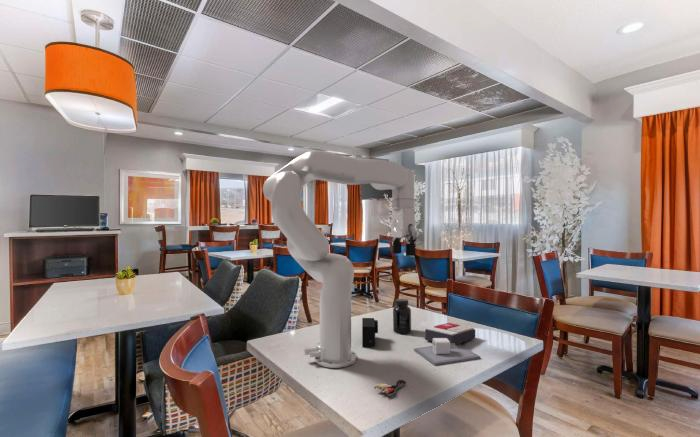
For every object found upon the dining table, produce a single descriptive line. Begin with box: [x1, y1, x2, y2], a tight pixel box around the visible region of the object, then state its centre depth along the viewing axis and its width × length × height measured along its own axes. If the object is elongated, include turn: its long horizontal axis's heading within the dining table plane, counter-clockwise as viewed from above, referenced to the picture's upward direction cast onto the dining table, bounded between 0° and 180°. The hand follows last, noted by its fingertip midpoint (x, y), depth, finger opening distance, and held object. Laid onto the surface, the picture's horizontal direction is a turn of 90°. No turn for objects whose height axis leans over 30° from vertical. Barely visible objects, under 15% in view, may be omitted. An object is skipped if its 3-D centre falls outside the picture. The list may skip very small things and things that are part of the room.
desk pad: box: [413, 344, 481, 366], centre depth 102 cm, size 16×12×1 cm
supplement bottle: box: [392, 298, 412, 335], centre depth 124 cm, size 7×7×12 cm
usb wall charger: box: [432, 338, 457, 354], centre depth 102 cm, size 4×7×4 cm, turn 91°
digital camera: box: [361, 317, 379, 348], centre depth 113 cm, size 10×5×7 cm, turn 178°
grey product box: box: [424, 322, 476, 346], centre depth 115 cm, size 11×4×15 cm
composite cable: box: [373, 379, 407, 399], centre depth 80 cm, size 10×5×2 cm, turn 126°
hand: (403, 254), depth 113 cm, fingers open, 9 cm apart
